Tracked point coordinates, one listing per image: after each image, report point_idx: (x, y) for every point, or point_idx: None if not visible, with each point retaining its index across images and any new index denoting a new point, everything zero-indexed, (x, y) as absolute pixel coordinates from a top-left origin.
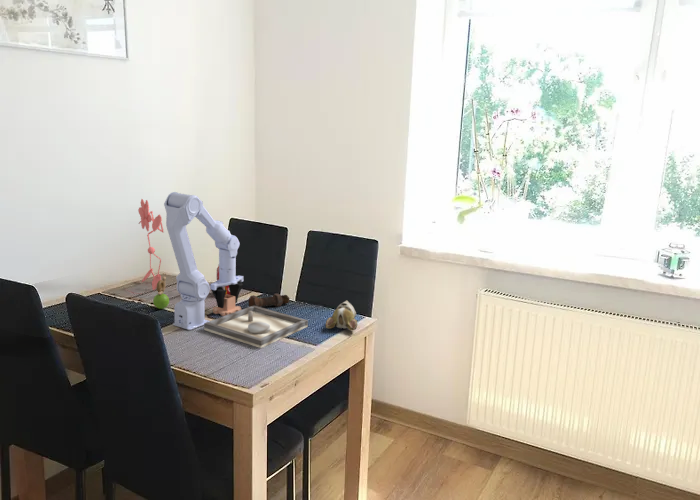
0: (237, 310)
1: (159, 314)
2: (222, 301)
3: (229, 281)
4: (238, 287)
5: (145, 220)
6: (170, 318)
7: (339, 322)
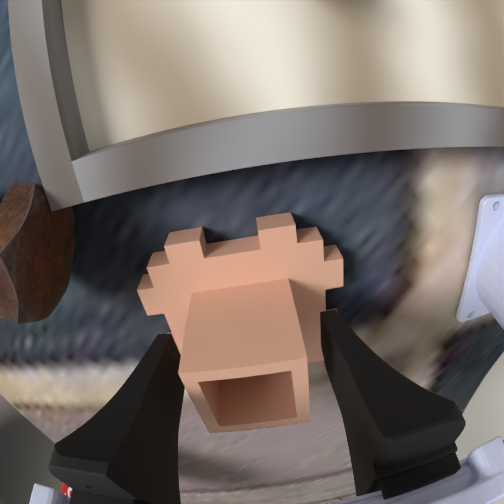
0: (203, 246)
1: (463, 396)
2: (364, 344)
3: None
4: (120, 455)
5: None
6: (487, 353)
7: None
